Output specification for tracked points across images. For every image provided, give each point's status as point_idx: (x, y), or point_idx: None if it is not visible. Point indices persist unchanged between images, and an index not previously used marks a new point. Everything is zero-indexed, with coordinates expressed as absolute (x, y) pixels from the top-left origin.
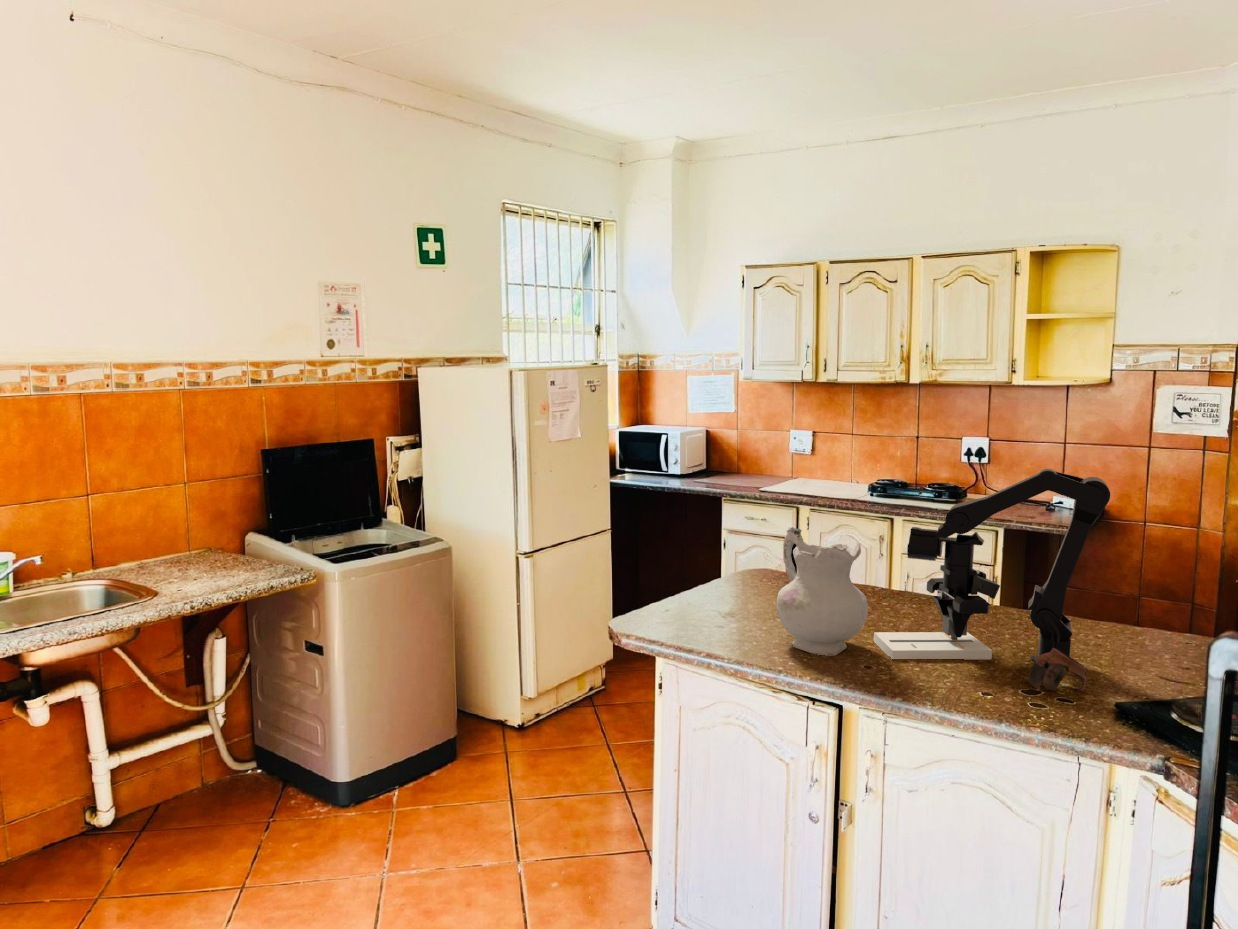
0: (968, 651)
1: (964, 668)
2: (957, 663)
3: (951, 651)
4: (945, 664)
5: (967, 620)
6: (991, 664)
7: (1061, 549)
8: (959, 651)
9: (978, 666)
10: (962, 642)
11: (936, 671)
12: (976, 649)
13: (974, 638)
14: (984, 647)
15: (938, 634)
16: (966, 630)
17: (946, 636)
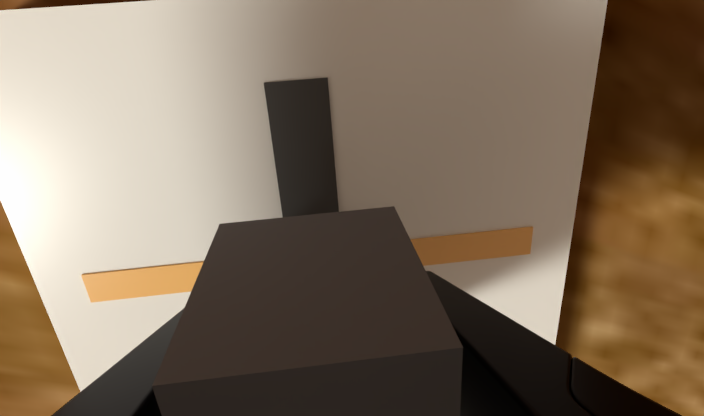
0: (570, 211)
1: (682, 257)
2: (590, 273)
3: (552, 333)
4: (594, 342)
5: (652, 410)
6: (660, 32)
7: None
8: (558, 279)
9: (673, 155)
10: (356, 202)
11: (683, 404)
12: (568, 137)
13: (197, 21)
14: (521, 26)
15: (133, 345)
16: (406, 238)
17: (185, 296)
